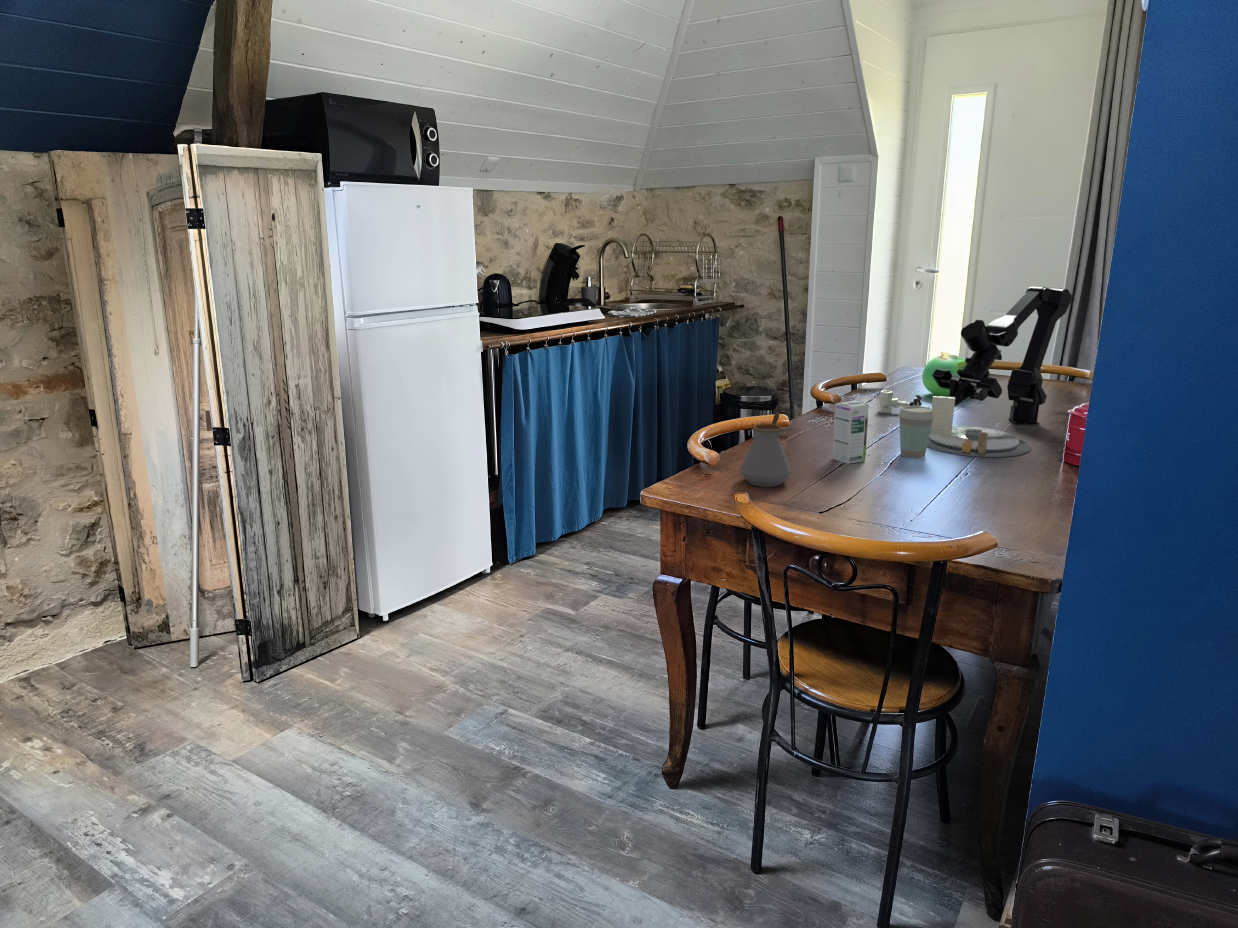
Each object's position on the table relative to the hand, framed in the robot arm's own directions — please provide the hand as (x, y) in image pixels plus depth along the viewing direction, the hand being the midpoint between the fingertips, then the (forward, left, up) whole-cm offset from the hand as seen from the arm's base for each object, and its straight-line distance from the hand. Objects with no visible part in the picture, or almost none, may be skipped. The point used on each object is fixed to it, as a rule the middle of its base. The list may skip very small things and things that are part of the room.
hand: (949, 407), depth 222 cm
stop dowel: (-3, +17, -9) cm, 20 cm away
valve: (+5, -31, -9) cm, 33 cm away
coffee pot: (+52, +36, -9) cm, 64 cm away
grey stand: (-5, +6, -8) cm, 11 cm away
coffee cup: (+14, +17, -9) cm, 24 cm away
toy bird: (-18, -58, -9) cm, 61 cm away
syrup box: (+31, +22, -9) cm, 39 cm away
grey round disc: (-5, +5, -9) cm, 11 cm away
